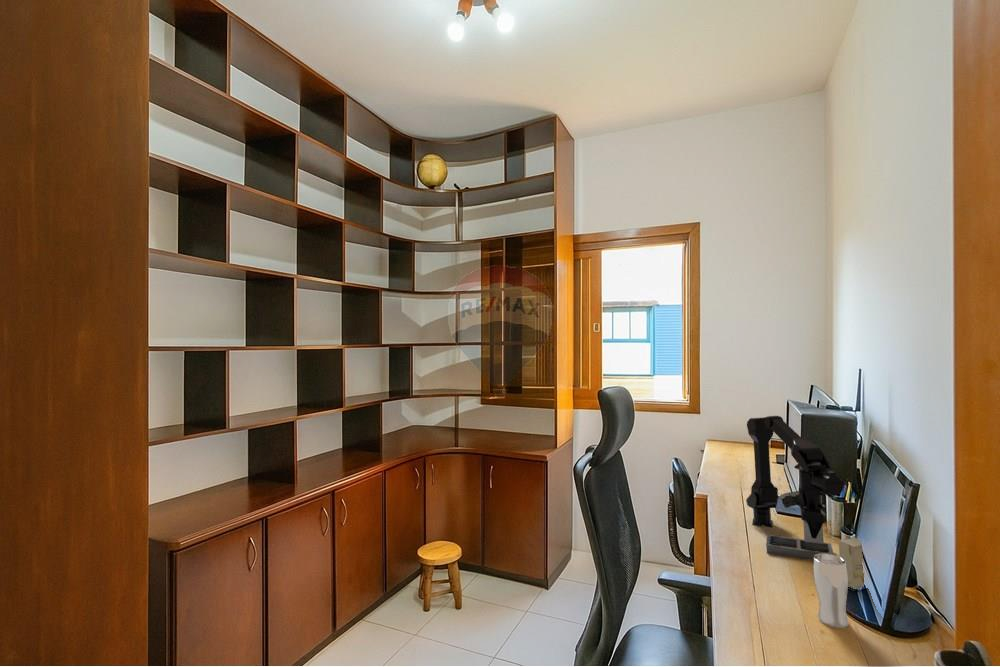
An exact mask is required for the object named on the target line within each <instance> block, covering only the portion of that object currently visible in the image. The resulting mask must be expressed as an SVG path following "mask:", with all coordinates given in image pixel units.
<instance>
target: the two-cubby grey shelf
mask: <svg viewBox="0 0 1000 667" xmlns="http://www.w3.org/2000/svg"><path fill="white" fill-rule="evenodd" d="M765 543H766V554H772V555H779V556H785V557H791V558H797V559H802V560H810V561H814V555H815V554H820V553H824V554H831V555H834V550H833V546H832V543H830V542H825V541H824V544H818V543H811V542H805V539H801V538H796V537H789V536H781V535H774V534H767V533H766V542H765Z"/></svg>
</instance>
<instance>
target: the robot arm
mask: <svg viewBox="0 0 1000 667" xmlns="http://www.w3.org/2000/svg"><path fill="white" fill-rule="evenodd" d="M746 428H747V432H748V435H749V438H751V439H752V442H753V453H754V468H755V469H754V470H755V472H754V473H755V480H754V481H753V483H752V485H751V488H750V489H751V490H750V494H749V495H748V497H747V498H746V499H745V500H746V504H747V507H749V508H751V509H752V511H753V512H752V513H753V518H752V522H751V524H752V525H753V526H759V527H765V528H773V525H774V524H773V523H774V521H773V520H772V514H771V512H772V511H771V509H776V508H777V506H778V501H779V497H780V500H781V503H782V505H783V508H786V509H788V508H790V507H794V506H798V505H799V507H800V518H801V521H802V522H803V521H806V522H807V523H808V526H809V530H810V533H811V537H812V538H814V539H816V537H817V535H818V533H819V531H820V529H821V527H822V525H823V524H827V521H826V514H825V512H824V510H823V508H824V507H823V506H824V505H823V499H822V497H823V493H825V494H828V495H830V496H835V497H836V496H838V495H840V494H841V493H842V491H843V489H844V483H843V482H842V481H843V480H842V479H841V478H840V477H838V476H837V472H835V471H832V468H831V465H830V462H829V461H828V459H827V457H826V456H825V454H824V452H823V450H822V449H821V448H820V446H817V445H816V444H815V443H813V442H810V441H808V440H805V439H803V438H802V437H801V436H800V435H799V434H798V433H797V432H796V431H795V430H794V429H793V428H791V427H790V425H788V424H787V423H786V421H784V418H783V417H782V416H779V415H768V416H764V417H750V418H749V419H748V420H747V421H746ZM774 434H775V435H777V437H778V438H779V439H780V440H782V442H783V443H784V444H785V445H786V446H787V447H788V448H789V449H790V454H791V456H792V458H793V459H794V460H795V462H796V463H797V464H795V465H794V469H797V470H798V475H799V486H798V490H796V491H790V492H785V493H782V494H780V496H779V493H778V491H779V488H778V487H776V486H775V485H774V484H773V482H772V478H771V461H770V460H771V459H770V441H771V439H772V437H773V436H774Z"/></svg>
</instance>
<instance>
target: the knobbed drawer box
mask: <svg viewBox="0 0 1000 667" xmlns="http://www.w3.org/2000/svg"><path fill="white" fill-rule="evenodd" d="M802 522H803V525H802V526H803V537H804V539H803V540H805V542H811V543H818V544H824V542H825V541H824V529H823V528H824V526H823V525H822V527H821V529H820V531H819V533H818V535H817V537H816V539H814V538H812V537H811V533H810V530H809V526H808V523H807V522H806V521H803V520H802Z"/></svg>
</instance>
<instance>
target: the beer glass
mask: <svg viewBox="0 0 1000 667" xmlns="http://www.w3.org/2000/svg"><path fill="white" fill-rule="evenodd" d="M824 553H825V552H824ZM824 553H820V554H815V555H814V560H813V567H812V568H813V569H812V570H813V572H812V573H813V581H814V585H815V588H816V589H815V590H816V593H817V597H818V604H819V609H818V615H817V616H818V617H817V618H818V620H819V621H820V622H821V623H822V624H823V625H826V626H828V627H831V628H834V629H835V628H836V629H845V628H848V627H849V624H850V623H849V620H848V616H847V610H846V605H847V598H848V592H849V591H848V589H849V588H848V574H847V568H846V561H845V560H844V559H842V558H841V557H840V556H837V555H831V554H824Z"/></svg>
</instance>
